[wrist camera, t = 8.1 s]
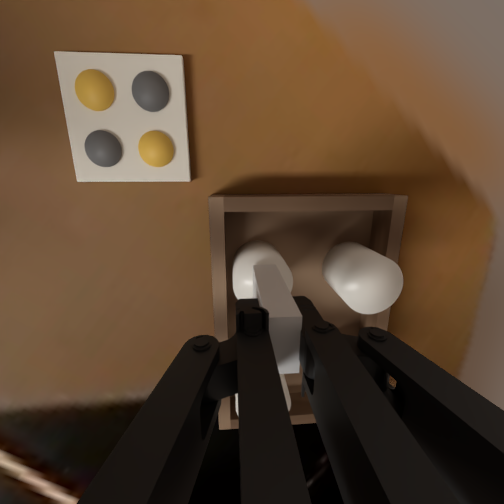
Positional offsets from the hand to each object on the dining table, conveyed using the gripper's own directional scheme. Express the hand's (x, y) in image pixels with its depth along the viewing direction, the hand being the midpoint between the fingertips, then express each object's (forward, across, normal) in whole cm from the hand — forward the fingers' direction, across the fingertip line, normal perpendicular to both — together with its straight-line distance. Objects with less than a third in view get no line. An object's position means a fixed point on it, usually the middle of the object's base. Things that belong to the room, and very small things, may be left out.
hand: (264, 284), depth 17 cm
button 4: (+4, 0, 0) cm, 4 cm away
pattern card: (+5, +9, -10) cm, 15 cm away
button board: (+5, -4, +5) cm, 8 cm away
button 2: (+3, -7, 0) cm, 8 cm away
